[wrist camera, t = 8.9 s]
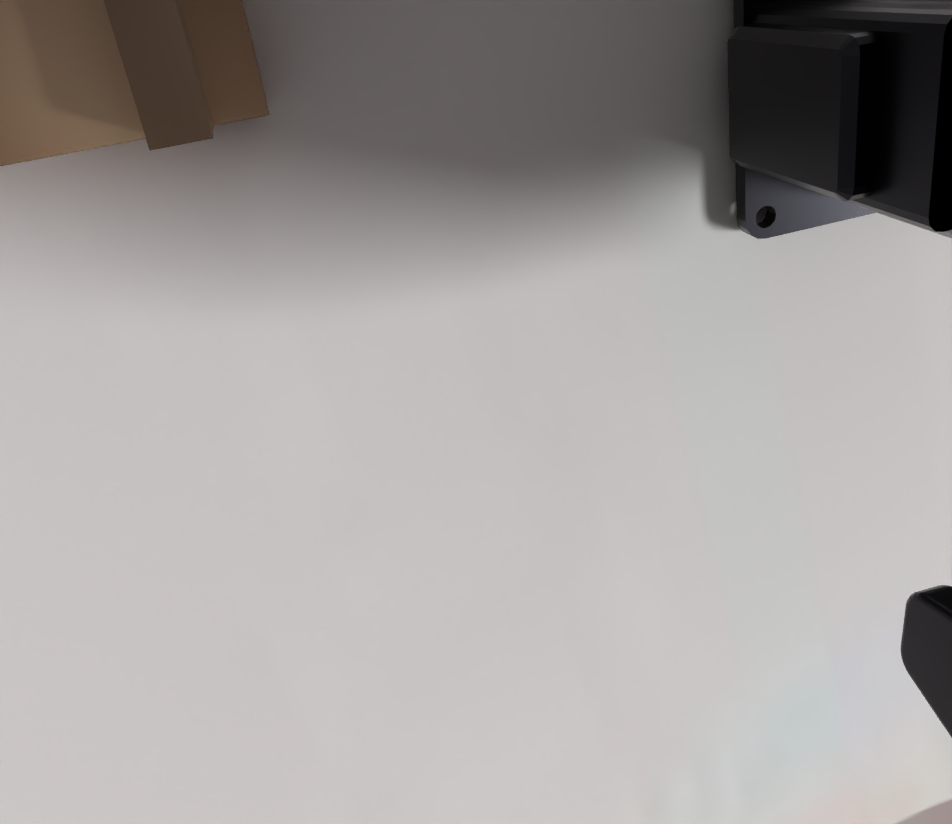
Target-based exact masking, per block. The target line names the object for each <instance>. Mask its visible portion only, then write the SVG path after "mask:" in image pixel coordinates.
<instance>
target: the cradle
mask: <svg viewBox="0 0 952 824" xmlns="http://www.w3.org/2000/svg"><path fill="white" fill-rule="evenodd" d="M265 115H270V114H269V110H268V106H267V102H266V98H265V94H264V90H263V85H262V81H261V77H260V73H259V69H258V65H257V61H256V57H255V53H254V49H253V44H252V40H251V36H250V32H249V28H248V24H247V20H246V16H245V12H244V7H243V3H242V0H0V166H4V165H9V164H15V163H20V162H25V161H30V160H35V159H41V158H46V157H51V156H56V155H62V154H67V153H72V152H77V151H83V150H88V149H93V148H98V147H103V146H109V145H114V144H119V143H124V142H130V141H135V140H140V139H145V138H146V140H147V143H148V146H149V150H154V149H159V148H164V147H170V146H175V145H180V144H185V143H190V142H195V141H201V140H206V139H211V138H213V125H218V124H224V123H229V122H234V121H239V120H245V119H250V118H255V117H260V116H265Z"/></svg>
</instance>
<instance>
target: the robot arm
mask: <svg viewBox="0 0 952 824" xmlns="http://www.w3.org/2000/svg"><path fill="white" fill-rule="evenodd" d="M733 2H734V31H733V33H732V35H731V36H730V38H729V40H728V88H729V144H730V157H731V158H732V159H733V160H734V161H735V162H736V205H737V221H738V226H739V227H740V228H741V230H742V231H743V232H745V233H747V234H750V235H752V236H754V237H756V238H758V239H759V238H769V237H774V236H778V235H782V234H786V233H791V232H795V231H799V230H804V229H808V228H812V227H816V226H821V225H825V224H829V223H833V222H838V221H842V220H846V219H850V218H855V217H859V216H863V215H868V214H872V213H876V212H877V213H880V214H883V215H886V216H888V217H891V218H894V219H897V220H900V221H903V222H906V223H909V224H912V225H915V226H918V227H921V228H924V229H926V230H929V231H932V232H935V233H938V234H941V235H944V236H947V237H950V238H952V0H733ZM764 206H766V210H767V212H766V216H765V218H764V219H763V220H762V222H760V223H758V224H756V220H755V219H756V214H757V212H758V211H759V210H760V208H762V207H764ZM901 656H902V660H903V663H904V666H905V668H906V670H907V672H908V673H909V675H910V676H911V678H912V679H913V681H914V682H915V684H916V685H917V687H918V688H919V690H920V691H921V693H922V694H923V696H924V697H925V699H926V700H927V702H928V703H929V705H930V706H931V708H932V709H933V711H934V712H935V714H936V715H937V717H938V718H939V720H940V721H941V723H942V724H943V725H944V727H945V728H946V730H947V731H948V733H949V734H950V736H951V737H952V587H951V586H946V585H941V586H936V587H933V588H929V589H925V590H922V591H918V592H915V593H913V594H912V595H911V596H910V597H909V599H908V600H907V603H906V609H905V617H904V625H903V633H902V641H901Z"/></svg>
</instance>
